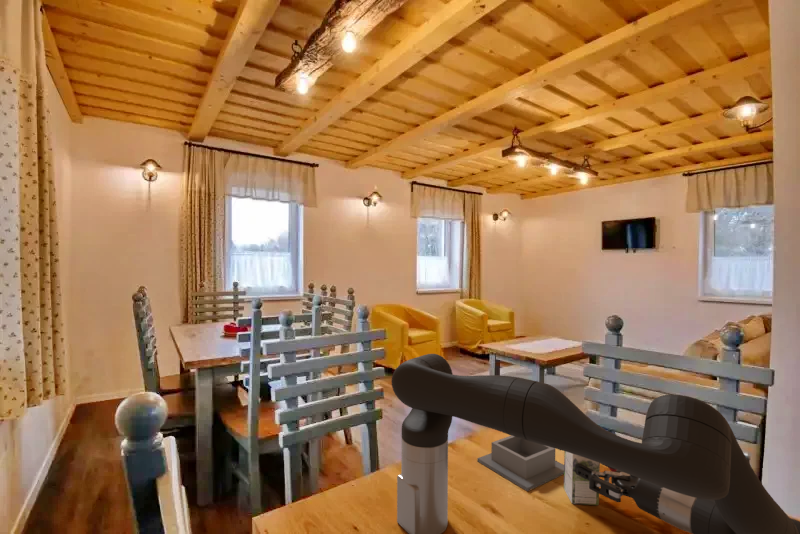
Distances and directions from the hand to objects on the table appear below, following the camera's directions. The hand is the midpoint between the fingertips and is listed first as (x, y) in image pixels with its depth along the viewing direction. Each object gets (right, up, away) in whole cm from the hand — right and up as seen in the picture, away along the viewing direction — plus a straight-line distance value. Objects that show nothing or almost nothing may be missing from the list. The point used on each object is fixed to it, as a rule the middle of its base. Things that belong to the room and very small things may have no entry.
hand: (587, 462), depth 87 cm
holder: (-10, -8, +14) cm, 19 cm away
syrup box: (-1, -8, +1) cm, 8 cm away
